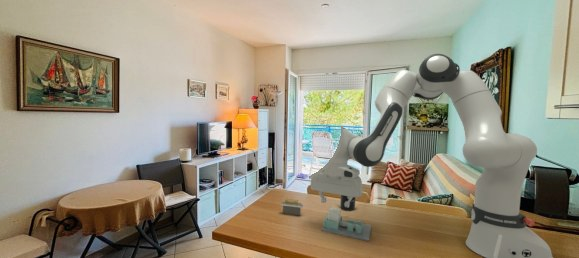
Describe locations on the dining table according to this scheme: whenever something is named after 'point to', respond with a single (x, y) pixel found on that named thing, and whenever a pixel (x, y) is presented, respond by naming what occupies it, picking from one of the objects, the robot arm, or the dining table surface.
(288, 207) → the potted plant
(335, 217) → the cable plug
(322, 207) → the dining table surface
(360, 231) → the board
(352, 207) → the supplement bottle
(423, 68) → the robot arm
